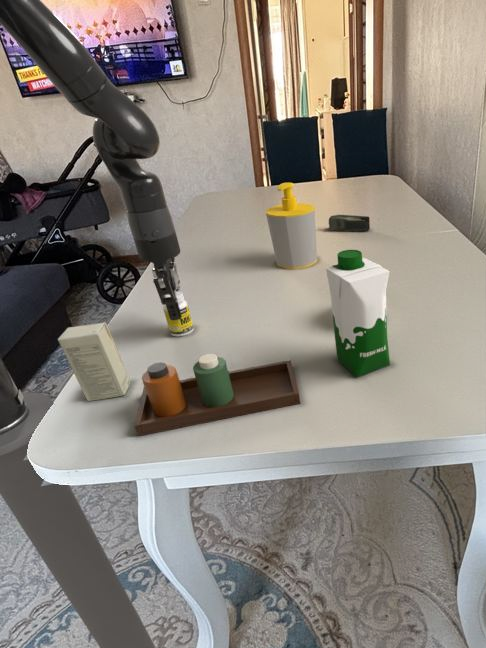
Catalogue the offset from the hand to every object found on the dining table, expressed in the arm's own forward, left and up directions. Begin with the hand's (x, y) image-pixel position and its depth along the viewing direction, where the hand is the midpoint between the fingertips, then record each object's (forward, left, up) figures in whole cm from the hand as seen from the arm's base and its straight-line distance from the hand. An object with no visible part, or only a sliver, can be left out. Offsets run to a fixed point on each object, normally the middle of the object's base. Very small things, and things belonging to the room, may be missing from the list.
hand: (177, 313), depth 97 cm
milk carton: (+33, -25, -5) cm, 42 cm away
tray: (+8, -28, -4) cm, 29 cm away
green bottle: (+7, -28, -4) cm, 29 cm away
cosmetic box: (-11, -19, -5) cm, 22 cm away
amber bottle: (0, -28, -4) cm, 28 cm away
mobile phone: (+49, +56, -5) cm, 75 cm away
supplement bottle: (0, 0, -5) cm, 5 cm away
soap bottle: (+29, +33, -5) cm, 44 cm away
